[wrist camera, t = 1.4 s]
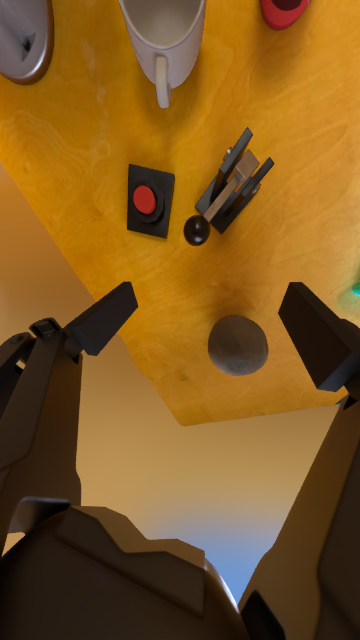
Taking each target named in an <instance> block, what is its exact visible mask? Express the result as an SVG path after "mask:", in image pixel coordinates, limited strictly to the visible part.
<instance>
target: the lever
mask: <svg viewBox="0 0 360 640" xmlns="http://www.w3.org/2000/svg"><path fill="white" fill-rule="evenodd" d="M259 164H260V163H259V161H258V160H257V159H256V158H255V156H254V155H253V154H252V152H251V151H250V150H249V149H248V150H247V152H246V153H245V154H244V155H243V157H242V158H241V159H240V161H239V162H238V163H237V164H236V166H235V167H234V169H233V171H232V172H231V174H230V175H229V177H228V179H227V180H226V182H227V183H228V184H227V186H226V187H225V188H224V189H223V191H222V192H221V193H220V195H219V196H218V197H217V198H216V200H215V201H214V202H213V204H212V205H211V206H210V207H209V209H208V210H207V211H206V213H205V214H204V215H203V216H202V215H194V216H191V217H190V218H189V219H188V220H187V221H186V223H185V225H184V230H183V233H184V237H185V240H186V241H187V242H188V243H189V244H190V245H192V246H200V245H202V244H204V243H205V242H206V241H207V239H208V238H209V235H210V224H209V222H210V220H211V219H212V218H213V217H214V215H215V214H216V213H217V211H218V210H219V209H220V208H221V206H222V205H223V204H224V202H225V201H226V200H227V199H228V197H229V196H230V195H231V193H232V192H233V191H235V192H236V193H237V192H238V191H239V190H240V188H241V187H242V186H243V185H244V183H245V182H246V181H247V179H248V178H249V177H250V176H251V174H252V173H253V172H254V170H255V169H256V168H257V167H258V165H259Z"/></svg>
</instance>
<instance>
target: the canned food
mask: <svg viewBox="0 0 360 640" xmlns="http://www.w3.org/2000/svg"><path fill="white" fill-rule="evenodd" d="M310 1H311V0H260V2H261V10H262V14H263V18H264V20H265V22H266V23H267V25H268V26H269V27H270V28H272V29H274V30H284V29H286V28H288V27H289V26H291V25H292V24H293V23H294V22H295V21H296V20H297V19H298V18H299V17H300V15H301V14H302V13H303V11H304V10H305V8H306V7H307V5H308V4H309V2H310Z"/></svg>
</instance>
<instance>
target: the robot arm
mask: <svg viewBox="0 0 360 640" xmlns="http://www.w3.org/2000/svg"><path fill="white" fill-rule="evenodd" d="M53 45H54V20H53V11H52V4H51V0H0V74H1V75H2V76H4V77H5V78H7V79H8V80H10V81H12V82H14V83H17V84H20V85H30V84H33V83H36V82H37V81H39V80H40V79H41V78H42V77H43V75H44V74H45V73H46V71H47V69H48V67H49V64H50V61H51V57H52V53H53ZM137 308H138V303H137V300H136V297H135V294H134V291H133V287H132V284H131V282H123V283H121V284H120V285H119V286H117V287H116V288H115V289H113V290H112V291H111V292H109V293H108V294H107V295H105V296H104V297H103V298H102V299H100V300H99V301H98V302H96V303H95V304H94V305H92V306H91V307H90V308H88V309H87V310H86V311H84V312H83V313H82V314H81V315H79V316H78V317H77V318H75V319H74V320H73V321H71V322H70V323H69V324H67V325H66V326H65V327H64V328H63V329H62V328H61V327H60V325H59V324H58V323H57V321H56V320H55V319H54V318H45V319H42V320H39V321H37V322H35V323H33V324H32V325H31V326H30V327H29V329H30V330H31V331H32V332H33V333H34V334H35V335H36V336H37V337H36V338H34V337H33V336H32V335H31V334H30V333H28V332H24V333H20V334H16V335H14V336H12V337H11V338H9V339H8V340H7V341H5V342H4V343H3V344H2V345H1V346H0V640H360V328H359V327H357V326H356V325H355V324H353V323H351V322H349V321H348V320H346V319H340V318H339V317H338V316H337V315H336V314H335V313H334V312H333V311H331V310H330V309H329V308H328V307H327V306H326V305H325V304H324V303H323V302H322V301H321V300H320V299H319V298H318V297H317V296H316V295H315V294H314V293H313V292H312V291H311V290H310V289H309V288H308V287H307V286H306V285H304V284H303V283H302V282H290V283H289V286H288V288H287V291H286V293H285V296H284V299H283V301H282V304H281V306H280V309H279V312H278V314H279V316H280V318H281V320H282V322H283V324H284V326H285V328H286V330H287V332H288V334H289V336H290V338H291V340H292V342H293V343H294V345H295V347H296V349H297V351H298V353H299V355H300V357H301V359H302V361H303V363H304V365H305V367H306V369H307V371H308V373H309V375H310V377H311V379H312V380H313V382H314V384H315V386H316V388H317V389H319V390H325V391H332V392H337V391H338V390H339V389H340V388H341V387H342V386H343V385H344V386H345V388H346V389H347V391H348V392H349V394H347V395H346V396H345V397H344V398H342V399H341V400H340V401H339V402H337V403H336V404H335V405H337V406H339V405H340V407H339V410H338V412H337V414H336V416H335V418H334V420H333V422H332V424H331V426H330V428H329V430H328V432H327V435H326V437H325V439H324V441H323V443H322V445H321V447H320V450H319V451H318V453H317V455H316V458H315V460H314V462H313V464H312V466H311V468H310V470H309V472H308V474H307V477H306V479H305V481H304V483H303V485H302V487H301V489H300V491H299V493H298V495H297V497H296V500H295V502H294V504H293V506H292V508H291V510H290V512H289V514H288V516H287V518H286V521H285V522H284V525H283V527H282V529H281V531H280V533H279V535H278V537H277V539H276V541H275V543H274V545H273V546H272V548H271V549H270V550H269V551H268V552H267V553H265V554H264V556H263V557H262V558H261V560H260V562H259V563H258V565H257V567H256V569H255V571H254V573H253V575H252V577H251V579H250V581H249V583H248V585H247V587H246V589H245V591H244V593H243V595H242V597H241V599H240V601H239V603H238V605H237V604H236V602H235V600H234V598H233V596H232V594H231V592H230V590H229V589H228V587H227V585H226V584H225V582H224V580H223V579H222V577H221V576H220V574H219V573H218V572H217V570H216V569H215V568H214V566H213V565H212V564H211V563H210V562H209V561H208V560H207V559H206V558H205V553H204V551H203V550H201V549H199V548H196V547H194V546H192V545H190V544H188V543H185V542H183V541H180V540H179V539H159V540H148V539H146V538H145V537H144V536H143V535H142V534H141V532H140V531H139V530H138V529H137V528H136V527H135V526H134V525H133V523H132V522H130V520H129V519H128V518H127V517H126V516H124V515H122V514H120V513H118V512H115V511H113V510H111V509H108V508H106V507H93V506H81V483H80V478H79V476H78V474H77V472H76V452H77V436H78V420H79V404H80V390H81V375H82V360H83V356H82V354H81V351H82V350H83V349H84V350H85V352H86V353H87V354H88V355H93V356H97V355H98V354H99V353H100V351H101V350H102V349H103V348H104V347H105V346H106V344H107V343H108V341H110V339H111V338H112V337H113V336H114V335H115V334H116V332H117V331H118V330H119V329H120V328H121V327H122V325H123V324H124V323H125V322H126V321H127V319H128V318H129V317H130V316H131V315H132V313H133V312H134V311H135V310H136V309H137ZM19 360H20V361H21V362H23V363H24V364H25V368H24V369H22V368H20V367H19V366H18V365H16V363H17V362H18V361H19ZM16 532H23V533H25V536H24V537H23V538H22V539H21V540H19V541H18V542H17V543H16V544H15V545H14V546H13V547H12V548H11V549H10V550H9V551H7V552H6V553H5V554H4V555H3V556H2V553H3V549H4V546H5V542H6V538H7V534H8V533H16Z"/></svg>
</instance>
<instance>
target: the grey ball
mask: <svg viewBox="0 0 360 640" xmlns="http://www.w3.org/2000/svg"><path fill="white" fill-rule="evenodd" d="M208 352H209V356H210V358H211V360H212V362H213V363H214V364H215V366H216V367H217V368H219V369H220V370H221V371H223V372H225V373H227V374H229V375H233V376H243V375H247V374H250V373H253V372H256V371H257V370H259V369H260V368H261V367H262V366H263V365H264V363H265V362H266V360H267V357H268V344H267V339H266V336H265V334H264V332H263V330H262V329H261V327H260V326H259V325H258V324H256V323H255V322H254V321H252V320H250V319H248V318H246V317H243V316H240V315H230V316H227V317H225V318H223V319H221V320H220V321H219V322H218V323H217V324H216V325H215V326H214V328H213V329H212V331H211V333H210V336H209V340H208Z"/></svg>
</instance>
